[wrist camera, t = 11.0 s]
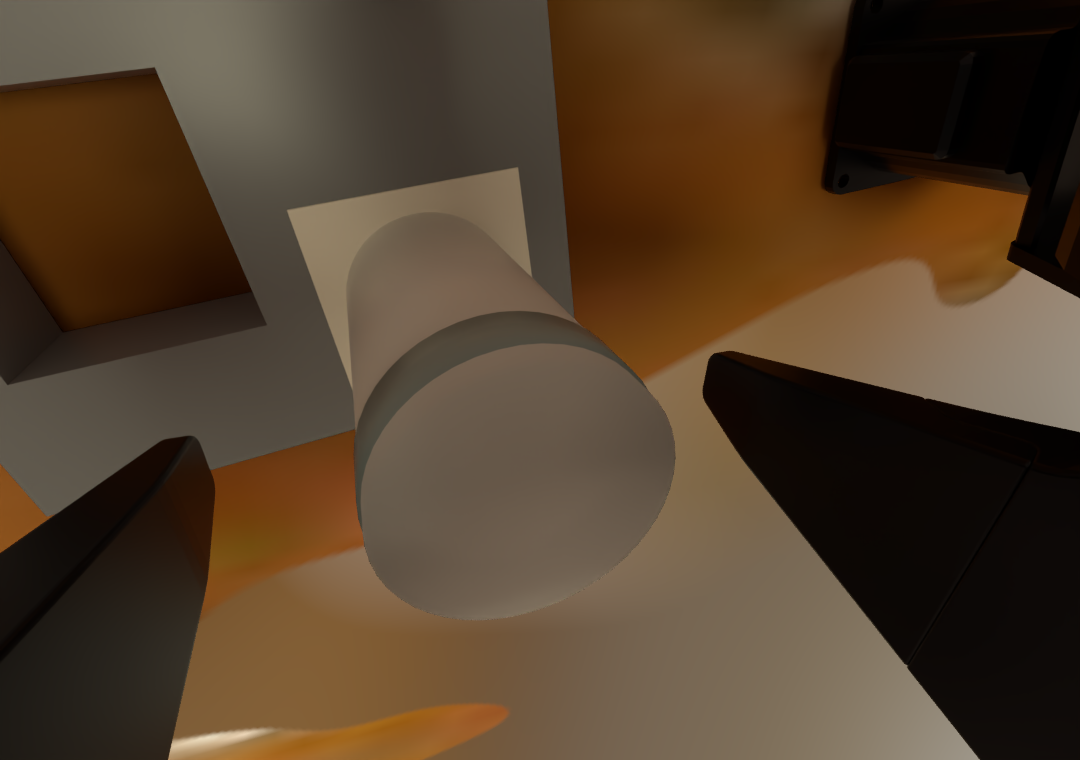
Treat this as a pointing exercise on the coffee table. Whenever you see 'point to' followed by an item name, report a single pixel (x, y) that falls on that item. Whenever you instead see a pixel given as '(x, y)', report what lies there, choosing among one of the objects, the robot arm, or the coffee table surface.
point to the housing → (276, 208)
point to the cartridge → (490, 428)
